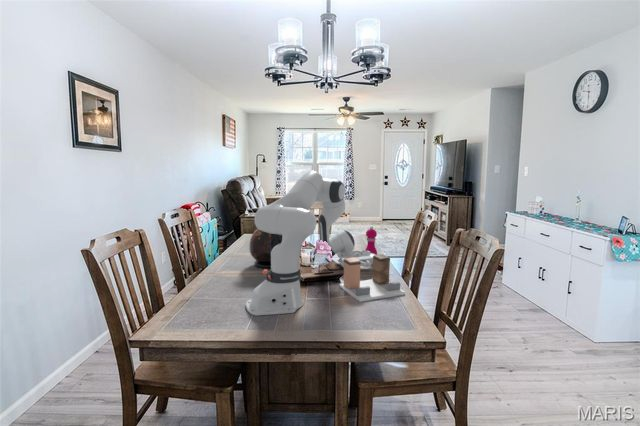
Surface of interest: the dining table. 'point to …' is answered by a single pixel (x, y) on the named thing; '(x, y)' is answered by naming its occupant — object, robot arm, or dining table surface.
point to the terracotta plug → (352, 272)
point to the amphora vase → (263, 247)
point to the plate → (374, 290)
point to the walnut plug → (381, 268)
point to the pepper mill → (371, 240)
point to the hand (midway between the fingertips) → (367, 265)
